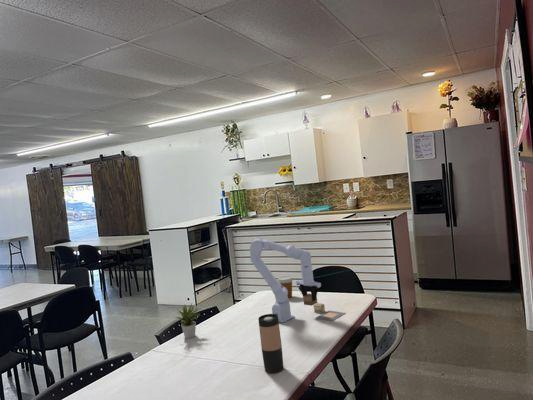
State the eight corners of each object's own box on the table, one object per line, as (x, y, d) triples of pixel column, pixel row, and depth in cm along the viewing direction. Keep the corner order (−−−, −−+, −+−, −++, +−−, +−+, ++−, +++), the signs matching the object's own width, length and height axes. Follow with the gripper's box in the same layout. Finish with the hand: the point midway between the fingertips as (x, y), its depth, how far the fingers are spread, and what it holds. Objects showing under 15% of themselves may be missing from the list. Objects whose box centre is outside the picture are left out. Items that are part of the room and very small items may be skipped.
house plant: (198, 342, 185) (193, 308, 184) (170, 343, 188) (166, 309, 187) (208, 331, 199) (204, 299, 198) (182, 332, 202) (179, 300, 201)
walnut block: (311, 305, 200) (310, 296, 200) (304, 304, 203) (302, 296, 203) (317, 302, 203) (316, 294, 203) (309, 301, 207) (308, 293, 207)
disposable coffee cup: (277, 299, 240) (275, 280, 239) (281, 295, 249) (279, 276, 249) (292, 299, 237) (290, 279, 237) (296, 294, 246) (294, 275, 246)
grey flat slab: (332, 321, 192) (332, 320, 192) (315, 318, 199) (315, 317, 199) (345, 313, 201) (345, 312, 201) (329, 310, 208) (329, 310, 208)
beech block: (320, 313, 206) (319, 306, 206) (314, 312, 209) (313, 305, 208) (325, 311, 209) (324, 303, 209) (318, 310, 211) (318, 302, 211)
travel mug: (272, 363, 154) (266, 312, 154) (288, 367, 149) (282, 315, 149) (260, 371, 148) (253, 319, 148) (275, 375, 143) (269, 321, 143)
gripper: (323, 272, 201) (326, 299, 201) (301, 271, 211) (303, 296, 211) (314, 276, 196) (318, 303, 196) (292, 274, 206) (295, 299, 206)
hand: (310, 299), depth 203 cm, fingers closed on walnut block, 5 cm apart
